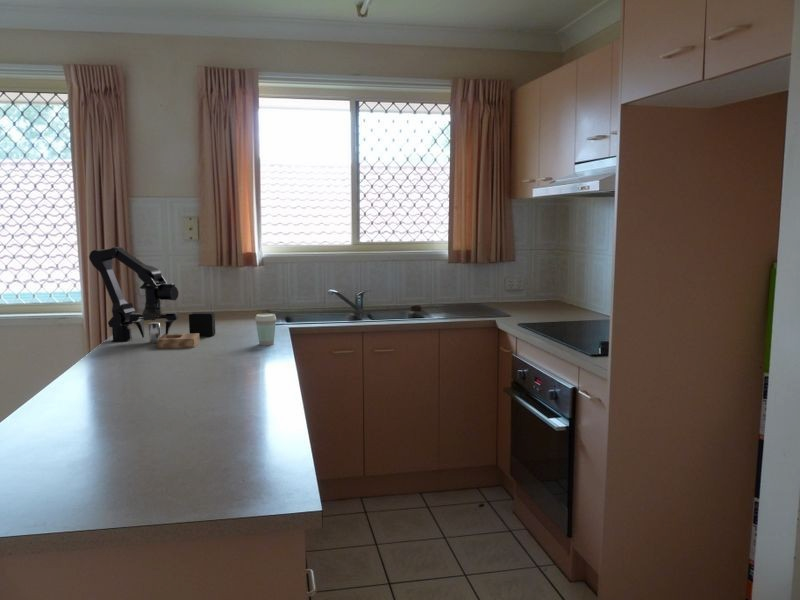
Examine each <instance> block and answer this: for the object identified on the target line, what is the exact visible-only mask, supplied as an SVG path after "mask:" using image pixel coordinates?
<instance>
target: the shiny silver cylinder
mask: <svg viewBox="0 0 800 600" xmlns="http://www.w3.org/2000/svg"><path fill="white" fill-rule="evenodd" d="M148 336H149V339H148V340H149V344H158V343H157V340H158V339H159V338H160V337H161V336H162V333H161V322H156V321H153V322H148Z"/></svg>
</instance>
